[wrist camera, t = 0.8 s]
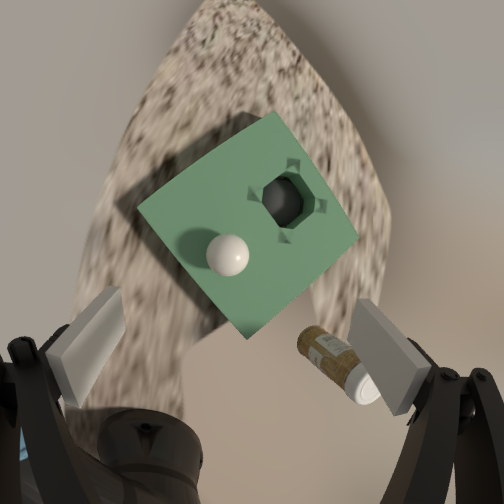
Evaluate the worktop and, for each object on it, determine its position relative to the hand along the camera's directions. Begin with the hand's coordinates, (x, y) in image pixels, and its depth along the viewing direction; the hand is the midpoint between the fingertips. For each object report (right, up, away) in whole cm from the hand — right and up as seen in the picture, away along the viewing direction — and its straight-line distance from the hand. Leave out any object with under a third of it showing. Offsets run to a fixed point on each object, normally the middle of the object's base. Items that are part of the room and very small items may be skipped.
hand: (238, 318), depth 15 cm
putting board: (+1, +7, +17) cm, 19 cm away
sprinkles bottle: (+8, -8, +21) cm, 24 cm away
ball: (-2, +3, +12) cm, 12 cm away
